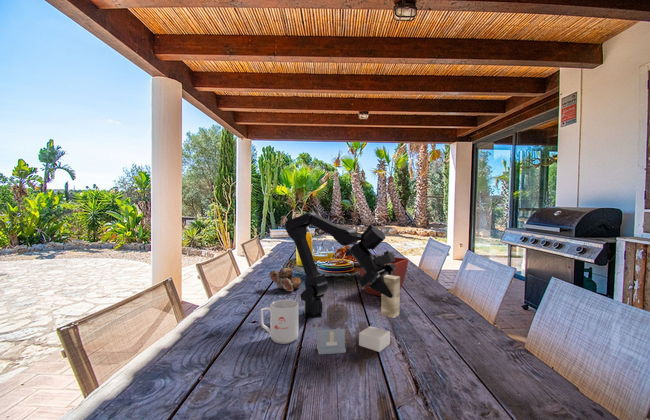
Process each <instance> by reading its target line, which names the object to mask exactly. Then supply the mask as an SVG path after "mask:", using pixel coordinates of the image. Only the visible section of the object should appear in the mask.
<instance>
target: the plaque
mask: <svg viewBox="0 0 650 420" xmlns="http://www.w3.org/2000/svg"><path fill="white" fill-rule="evenodd" d="M316 350H317V353H318V355H330V354H331V355H332V354H344V353H347V349H346V329H345V328H333V329H332V328H331V329H317V344H316Z"/></svg>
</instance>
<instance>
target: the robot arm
mask: <svg viewBox="0 0 650 420" xmlns="http://www.w3.org/2000/svg"><path fill="white" fill-rule="evenodd" d="M311 225H312V226H314V227H315V228H317V229H319V230H321V231H322V232H324V233H327V234H329V235H330V236H332V237H333V239H334V241H336V242H337V243H338V244H340V246H343V247H347V246H351V245H352V246H351V247H348V248H346V250H345V257H350V256H353V258H354V259H355V261H356V262H357V263H359V264H360V265H358V269H359V268H360V269H361V268H363V270H364V271H365V272H366V273H365V274H364V275H363V276H362V277H361V276H360V278H359V279H358V285H359V286H360V287H361V289H364V287H366V286H367V284H368V283H370V285H369V286H368V288H372V289H374V290H376V291H378V292H380V293H382V294H383V295H385V296H387V297H389V298H392V297H393V295H392V294H391V292H390V290H389V289H388V287H387V286H386V284H385V282H384V276H386V275H393V270H394V269H396V267H395V266H394V264H392V263H391V262H393V261H395V258H394V257H396V254H395V253H394V251H391V250H386V251H383V254H382V255H378V256H379V257H378V256H377V254H373V253H372V252H371V251H370V250H373V251H374V250H376V248H378V246H379V245H380V244H381V243H382V242H384V240H386V235H385V234H384V232H383V231H382V230H381V229H379V228H378V227H376V226H374V225H373V224H370V225H368V226H367V228H366V229H365V230H364V232H362V233H361V232H358V231H357V230H356V229H354V228H351V227H348V226H341V225H339V224H337V223H334V222H333V221H331V220H329V219H326V218H324V217H323V216H320V215H318V214H317V213H316V212H305V213H303V214H302V215H299V216H297V217H294V218H289V219H287V220H286V222H285V224H284V229H285V231H286V233H287V234H288V237H289V238H290V239H291V240H292V241H293V242H294V245H295V247H296V250H297V254H298V256H299V259H300V261H301V265H302V268H303V271H304V274H305V280H304V287H305V289H304V290H303V291H302V292H301V293H300V294H299V295H300V300H301V301H304V303H303V304H304V307H303V315H304V317H305V318H315V317H317V318H318V317H322V314H323V302H322V298H324V296H325V293H326V292H327V291H328V288H329V287H328V284H329V282H328V281H327V278H326V274H325V273H322V274H321V273H320V272H319V271H318V269H317V265H316V262H315V259H314V257H313V254H312V251H311V249H310V246H309V243H308V239H307V233H308V230H307V228H308V227H310V226H311ZM388 263H389V264H388ZM385 264H386V265H385Z"/></svg>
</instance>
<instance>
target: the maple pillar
mask: <svg viewBox="0 0 650 420" xmlns="http://www.w3.org/2000/svg"><path fill="white" fill-rule="evenodd" d="M384 282H385V284H386V286H387V287H388V289H389V290H390V292H391V294H392V295H393V297H392V298H389V297H387V296H385V295H383V294H382V296H380V298H381V299H380V300H381V301H380V302H381V306H380V308H381V309H380V315H381V316H384V317H387V318H388V317H389V318H391V319H392V318H393V319H395V318H397V317H398V316H399V315H400V308H401V307H400V306H401V305H400V300H401V299H400V297H401V296H400V295H401V290H400V277H399V276H392V275H386V276H384Z"/></svg>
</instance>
